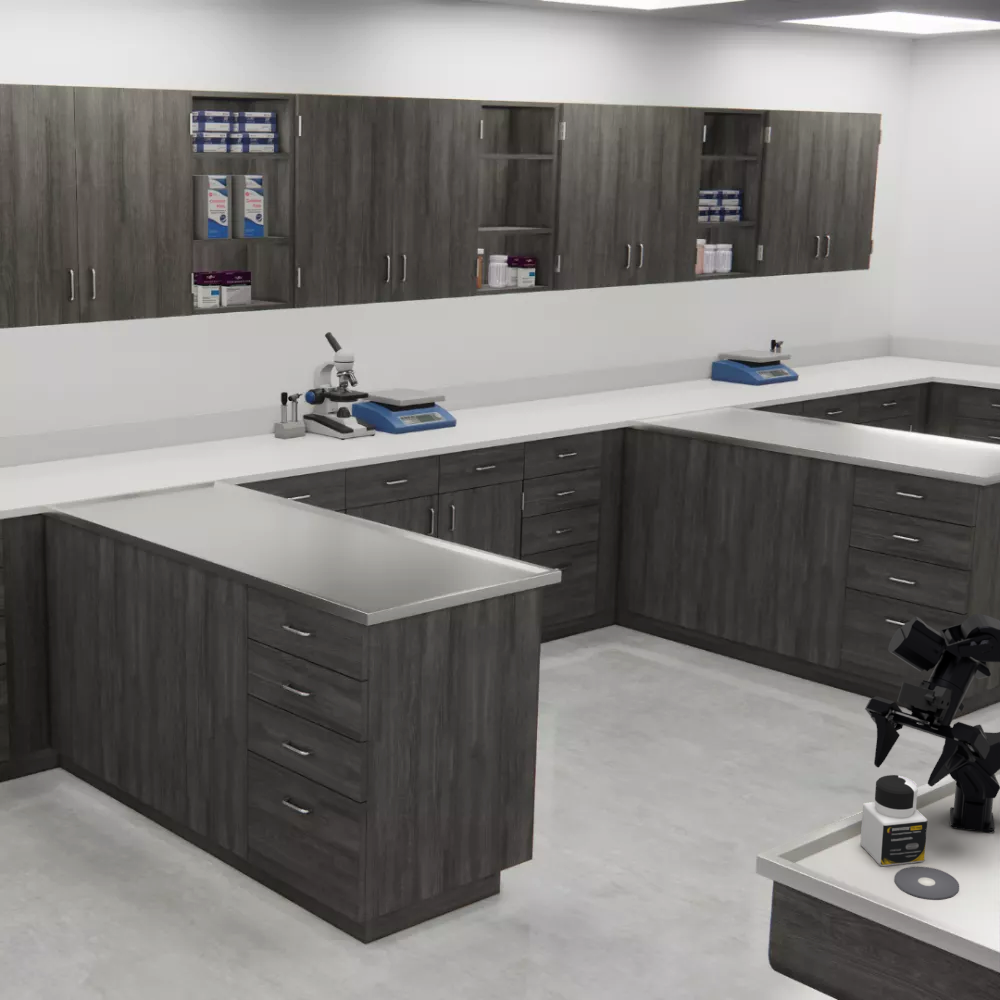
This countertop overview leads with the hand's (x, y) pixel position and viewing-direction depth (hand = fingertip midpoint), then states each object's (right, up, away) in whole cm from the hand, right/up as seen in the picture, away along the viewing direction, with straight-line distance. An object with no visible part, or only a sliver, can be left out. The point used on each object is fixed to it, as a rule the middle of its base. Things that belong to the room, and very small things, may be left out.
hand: (902, 775), depth 217 cm
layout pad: (+1, -14, -8) cm, 16 cm away
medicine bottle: (-1, -12, +1) cm, 12 cm away
